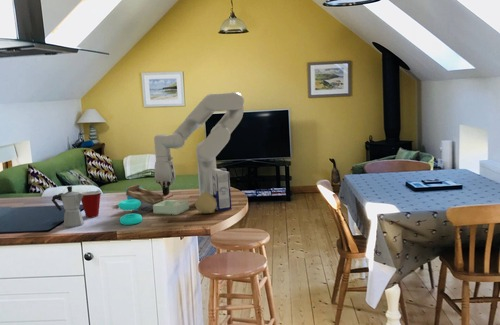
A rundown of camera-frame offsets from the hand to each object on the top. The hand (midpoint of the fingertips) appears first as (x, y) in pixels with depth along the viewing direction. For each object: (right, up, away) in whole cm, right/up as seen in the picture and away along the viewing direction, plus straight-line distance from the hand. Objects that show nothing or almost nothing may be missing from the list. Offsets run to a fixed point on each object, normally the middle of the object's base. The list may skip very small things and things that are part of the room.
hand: (166, 194), depth 257 cm
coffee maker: (-39, -13, -27) cm, 49 cm away
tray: (+5, -7, -12) cm, 15 cm away
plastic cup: (-34, -10, -12) cm, 37 cm away
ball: (+8, -5, -14) cm, 17 cm away
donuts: (-11, -11, -29) cm, 33 cm away
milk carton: (+30, -6, -13) cm, 33 cm away
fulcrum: (-9, -7, -6) cm, 13 cm away
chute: (-8, -1, -3) cm, 8 cm away
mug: (-18, -5, +13) cm, 23 cm away
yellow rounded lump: (+23, -8, -21) cm, 32 cm away
